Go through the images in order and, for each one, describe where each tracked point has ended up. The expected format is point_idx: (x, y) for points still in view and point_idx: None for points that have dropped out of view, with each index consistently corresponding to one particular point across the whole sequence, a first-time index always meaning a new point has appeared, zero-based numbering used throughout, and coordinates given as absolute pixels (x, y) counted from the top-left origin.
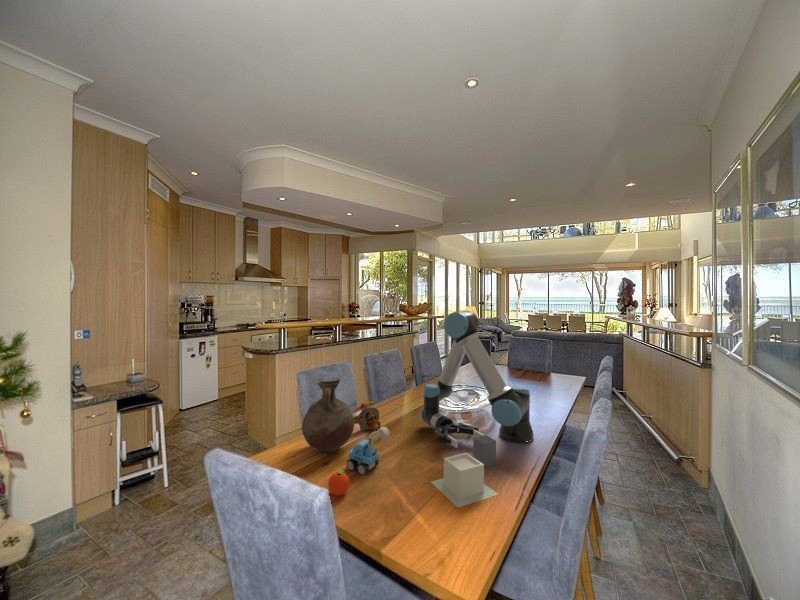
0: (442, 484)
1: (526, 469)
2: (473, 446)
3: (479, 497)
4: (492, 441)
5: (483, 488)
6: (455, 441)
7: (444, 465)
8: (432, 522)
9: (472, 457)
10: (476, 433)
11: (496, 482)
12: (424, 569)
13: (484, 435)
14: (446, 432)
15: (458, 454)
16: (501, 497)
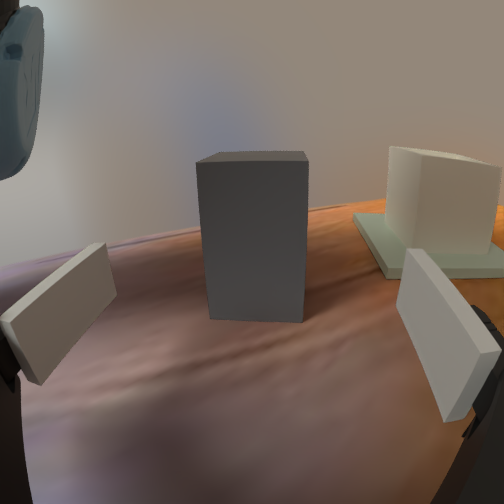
0: (490, 254)
1: (157, 244)
2: (306, 224)
3: None
4: (243, 151)
5: (386, 212)
6: (425, 256)
7: (496, 189)
8: (501, 226)
9: (409, 150)
10: (53, 308)
11: (313, 239)
12: (501, 206)
13: (210, 161)
14: (490, 464)
15: (453, 159)
16: (345, 219)
